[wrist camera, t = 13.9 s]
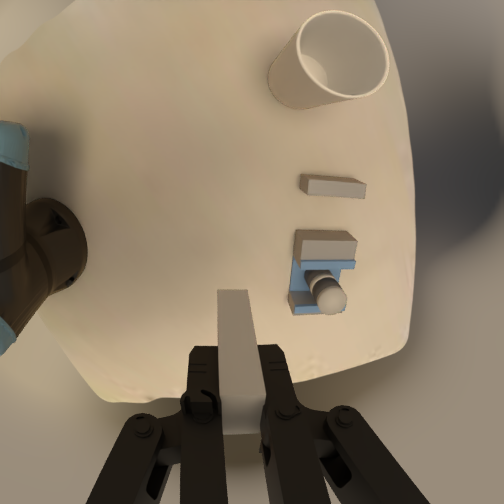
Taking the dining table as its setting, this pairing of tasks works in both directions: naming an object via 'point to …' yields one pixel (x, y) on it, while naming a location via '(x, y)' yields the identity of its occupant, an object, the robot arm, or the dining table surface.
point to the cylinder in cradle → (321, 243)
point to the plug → (325, 291)
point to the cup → (329, 62)
